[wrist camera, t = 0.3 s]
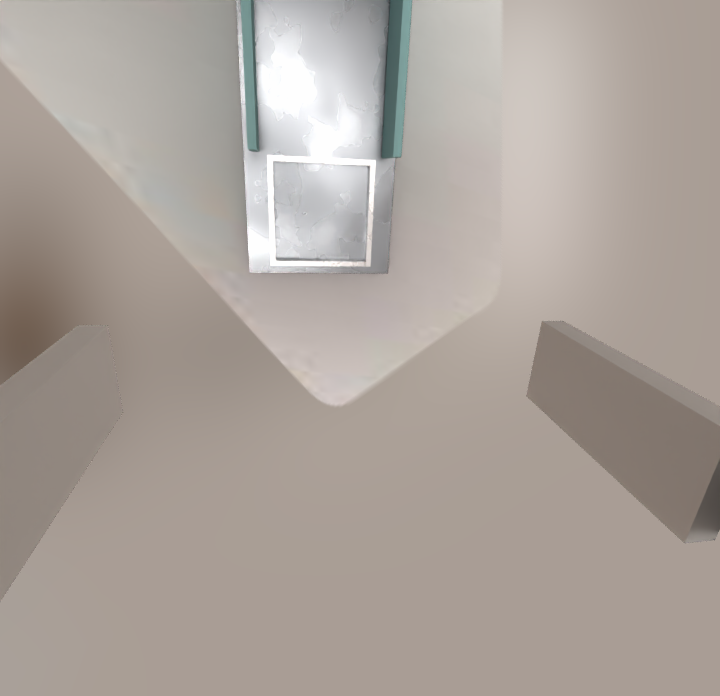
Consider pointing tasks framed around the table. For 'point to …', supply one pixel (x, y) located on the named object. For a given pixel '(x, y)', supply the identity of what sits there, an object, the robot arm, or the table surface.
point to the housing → (394, 76)
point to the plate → (318, 137)
